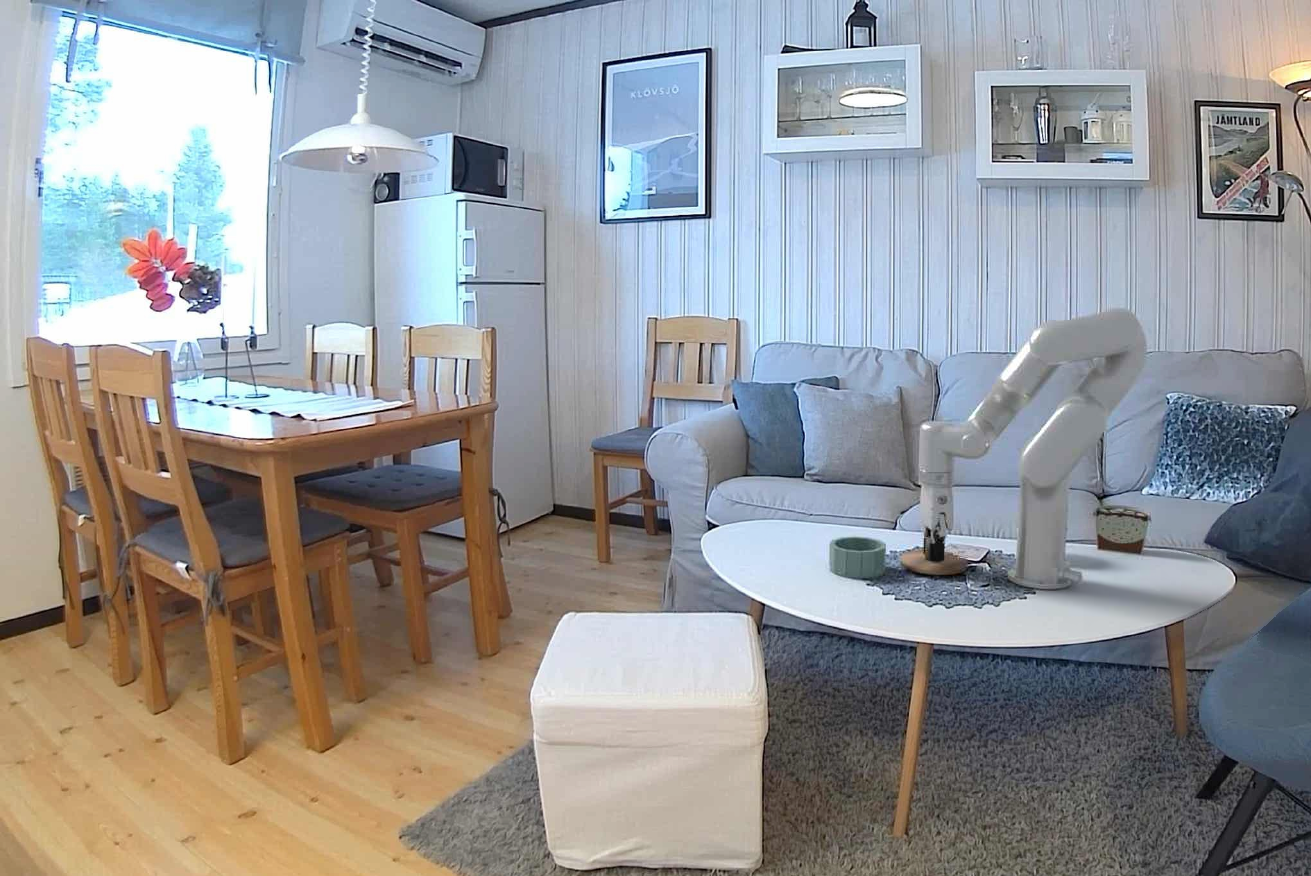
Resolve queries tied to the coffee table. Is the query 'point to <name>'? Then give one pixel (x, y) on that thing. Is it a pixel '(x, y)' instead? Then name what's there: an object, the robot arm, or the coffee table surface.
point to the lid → (932, 562)
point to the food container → (1121, 528)
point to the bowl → (857, 557)
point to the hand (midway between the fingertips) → (933, 556)
